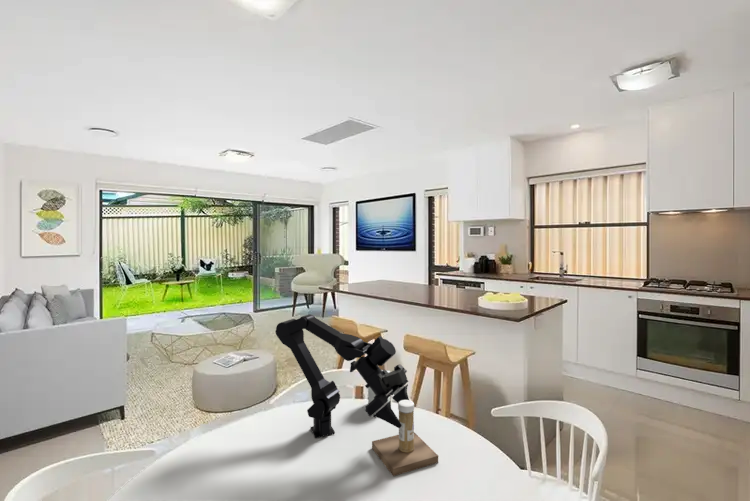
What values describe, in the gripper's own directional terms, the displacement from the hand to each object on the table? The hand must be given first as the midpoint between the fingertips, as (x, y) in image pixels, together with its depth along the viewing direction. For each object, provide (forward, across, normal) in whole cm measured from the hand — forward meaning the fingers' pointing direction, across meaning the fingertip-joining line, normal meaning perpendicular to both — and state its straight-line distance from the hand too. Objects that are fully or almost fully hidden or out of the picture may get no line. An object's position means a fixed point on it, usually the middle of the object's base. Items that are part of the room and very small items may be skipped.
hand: (406, 419), depth 103 cm
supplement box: (-7, +24, +22) cm, 33 cm away
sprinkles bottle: (+6, 0, +6) cm, 9 cm away
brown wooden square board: (+7, 0, +8) cm, 11 cm away
